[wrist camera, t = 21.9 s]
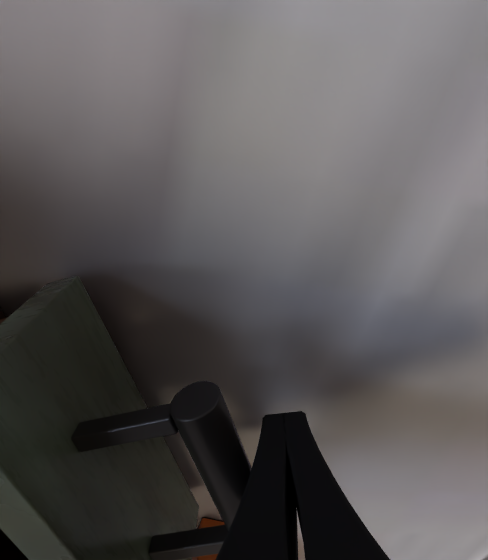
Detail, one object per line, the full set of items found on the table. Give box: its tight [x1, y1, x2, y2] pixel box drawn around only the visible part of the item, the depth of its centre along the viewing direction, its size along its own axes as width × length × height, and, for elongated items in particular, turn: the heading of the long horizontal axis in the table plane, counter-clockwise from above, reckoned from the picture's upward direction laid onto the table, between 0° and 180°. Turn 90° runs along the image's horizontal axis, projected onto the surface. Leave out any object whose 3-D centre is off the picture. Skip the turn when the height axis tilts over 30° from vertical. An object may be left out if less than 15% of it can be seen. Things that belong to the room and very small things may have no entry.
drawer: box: [0, 276, 252, 560], centre depth 13 cm, size 17×12×6 cm
